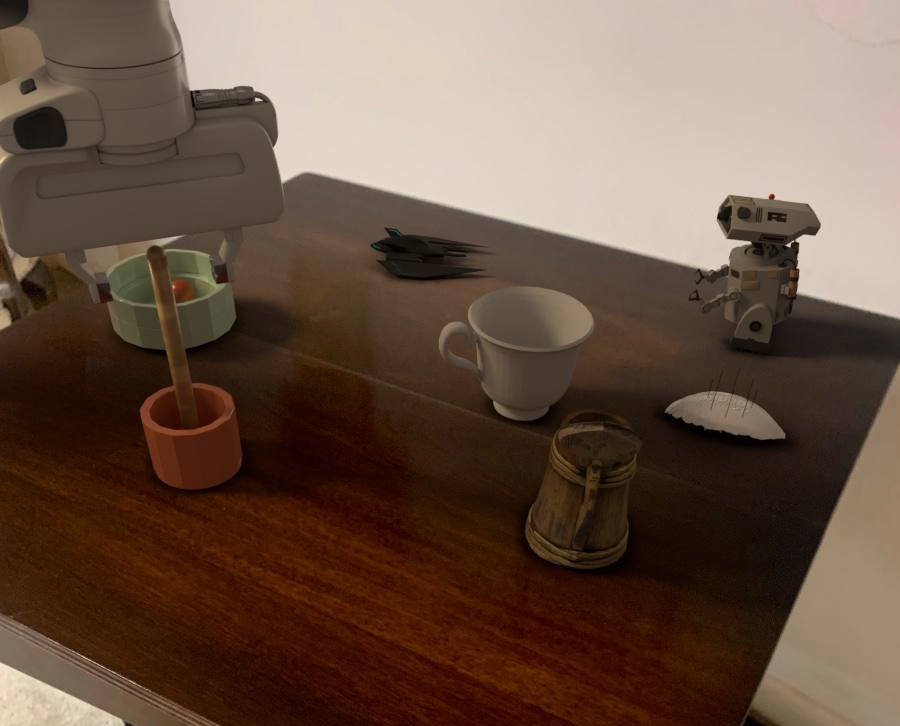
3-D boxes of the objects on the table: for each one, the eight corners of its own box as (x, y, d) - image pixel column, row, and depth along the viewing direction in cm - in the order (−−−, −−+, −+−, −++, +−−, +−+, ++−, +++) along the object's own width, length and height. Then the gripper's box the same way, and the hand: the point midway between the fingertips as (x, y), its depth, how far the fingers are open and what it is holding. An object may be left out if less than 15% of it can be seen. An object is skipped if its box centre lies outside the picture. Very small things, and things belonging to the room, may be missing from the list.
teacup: (424, 381, 93) (426, 292, 86) (557, 368, 96) (570, 281, 89) (450, 449, 85) (455, 357, 78) (595, 433, 88) (613, 343, 81)
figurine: (685, 304, 107) (717, 176, 97) (781, 320, 106) (825, 192, 95) (677, 341, 101) (711, 209, 90) (780, 359, 99) (826, 226, 89)
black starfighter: (377, 235, 117) (377, 213, 115) (490, 245, 116) (492, 223, 114) (363, 274, 109) (362, 251, 107) (484, 285, 108) (485, 262, 106)
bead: (166, 310, 100) (161, 285, 98) (175, 297, 102) (170, 273, 100) (192, 313, 100) (187, 288, 98) (200, 300, 102) (196, 275, 100)
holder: (141, 485, 80) (126, 430, 75) (170, 432, 85) (158, 378, 81) (228, 494, 79) (218, 440, 75) (252, 440, 85) (244, 386, 81)
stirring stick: (187, 461, 81) (141, 249, 67) (192, 451, 82) (148, 240, 68) (203, 463, 81) (160, 251, 67) (207, 453, 82) (167, 242, 68)
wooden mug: (511, 600, 72) (536, 414, 59) (531, 495, 81) (556, 314, 68) (620, 618, 71) (671, 433, 58) (628, 510, 80) (673, 330, 67)
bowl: (96, 348, 95) (83, 300, 91) (139, 290, 104) (129, 244, 100) (216, 360, 94) (208, 312, 90) (249, 300, 104) (243, 254, 100)
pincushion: (786, 425, 90) (804, 377, 86) (780, 459, 86) (798, 410, 82) (670, 398, 93) (682, 350, 89) (659, 429, 89) (671, 381, 85)
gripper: (261, 70, 65) (280, 253, 75) (-39, 97, 59) (25, 292, 69) (286, 97, 61) (303, 286, 71) (-33, 129, 55) (34, 331, 65)
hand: (164, 289), depth 70 cm, fingers open, 8 cm apart
